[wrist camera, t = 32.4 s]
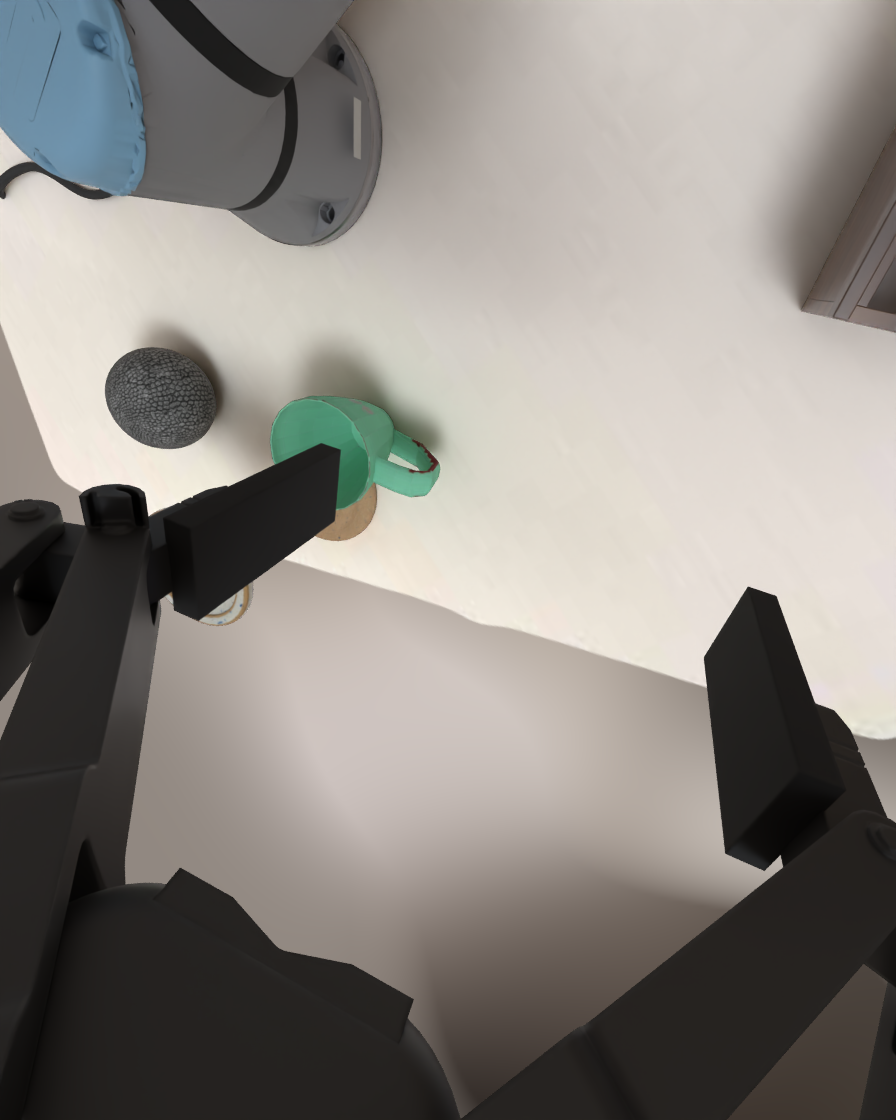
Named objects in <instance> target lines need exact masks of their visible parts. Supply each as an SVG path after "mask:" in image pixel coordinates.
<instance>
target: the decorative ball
mask: <svg viewBox="0 0 896 1120" xmlns="http://www.w3.org/2000/svg"><path fill="white" fill-rule="evenodd" d="M105 397H106V402H107V406H108V408H109V411H110V413H111V415H112V417H113V418H114V420H115V421H116V423H117V424H118V425H119V426H120V427H121V429H122V430H123V431H124V432H126V433H127V434H128V435H129V436H131V437H132V438H133V439H135V440H137V441H138V442H140V443H142V444H145V445H148V446H151V447H156V448H161V449H176V448H182V447H185V446H188V445H191V444H193V443H195V442H196V441H198V440H199V439H200V438H202V437H203V436H204V435H205V434H206V432H207V431H208V430H209V428H210V427H211V425H212V423H213V420H214V417H215V414H216V398H215V393H214V390H213V387H212V385H211V383H210V381H209V379H208V378H207V376H206V375H205V373H204V372H203V371H202V370H201V369H200V368H199V367H198V366H197V365H196V364H195V363H194V362H193V361H191V360H190V359H189V358H187V357H186V356H184V355H182V354H180V353H177V352H175V351H172V350H168V349H164V348H154V347H151V348H141V349H137V350H134V351H131V352H129V353H127V354H126V355H124V356H123V357H121V358H120V359H119V360H118V361H117V362H116V363H115V364H114V366H113V367H112V368H111V370H110V372H109V374H108V377H107V380H106V384H105Z"/></svg>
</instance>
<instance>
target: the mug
mask: <svg viewBox="0 0 896 1120" xmlns="http://www.w3.org/2000/svg"><path fill="white" fill-rule="evenodd" d="M320 443H323V444H326V445H329V446H332V447H335V448H338V449H341V456H340V468H339V479H338V491H337V503H336V510H343V509H346V508H348V507H350V506H351V505H353V504H355V503H356V502H358V501H359V500H361V499H362V498H363V496H364V495H365V494H366V492H367V491H368V490H369V488H370V487H371V486H372V484H373V482H374V483H376V484H379V485H381V486H383V487H385V488H387V489H390V490H392V491H394V492H397V493H400V494H403V495H406V496H409V497H418V496H425V495H427V494H428V492H429V491H430V490H431V488H432V487H433V485H434V484H435V482H436V481H437V479H438V477H439V473H440V465H439V462H438V461H437V459H436V458H435V457H434V456H433V455H432V454H431V453H430V452H429V451H428V449H427V448H426V447H425V446H424V445H423V444H422V443H420V442H418V441H416V440H414V439H412V438H410V437H408V436H406V435H405V434H403V433H401V432H399V431H397V430H395V428H394V425H393V422H392V420H391V418H390V417H389V415H388V414H387V413H386V412H385V411H384V410H383V409H381V408H379V407H377V406H375V405H372V404H370V403H368V402H365V401H361V400H357V399H351V398H343V397H334V396H309V397H306V398H302V399H298V400H295V401H292V402H290V403H289V404H288V405H286V406H285V407H284V408H283V409H281V410H280V411H279V413H278V415H277V417H276V419H275V420H274V422H273V424H272V430H271V436H270V446H271V453H272V459H273V461H274V464H278V463H280V462H282V461H284V460H286V459H288V458H290V457H292V456H294V455H297V454H299V453H301V452H303V451H305V450H307V449H309V448H311V447H313V446H316V445H318V444H320ZM390 452H391V453H393V454H395V455H397V456H398V457H400V458H402V459H404V460H406V461H407V462H409V463H411V464H413V465H414V466H416V467H418V469H419V470H420V471H415V470H412V469H409V468H405V467H402V466H399V465H397V464H395V463H392V462H390V461H388V457H389V455H390Z"/></svg>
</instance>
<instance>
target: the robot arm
mask: <svg viewBox="0 0 896 1120" xmlns="http://www.w3.org/2000/svg"><path fill="white" fill-rule="evenodd" d="M353 1H354V0H0V127H1V128H2V130H3V131H4V132H5V133H6V135H7V136H8V137H9V138H10V139H11V140H12V141H13V143H14V144H15V145H16V146H17V147H18V148H19V149H20V150H21V151H22V152H23V153H24V154H26V155H27V156H28V157H29V158H30V159H31V160H33V161H34V162H35V163H34V162H26V163H21V164H18V165H15V166H13V167H11V168H10V169H8V170H7V171H5V172H4V173H3V174H2V175H1V176H0V198H2V199H4V198H5V193H4V189H5V187H6V186H7V184H8V183H9V182H10V181H11V180H13V179H14V178H15V177H17V176H19V175H21V174H23V173H26V172H30V171H36V172H40V173H43V174H45V175H47V176H49V177H51V178H52V179H54V180H56V181H57V182H59V183H60V184H62V185H63V186H64V187H66V188H67V189H69V190H70V191H72V192H74V193H76V194H77V195H80V196H82V197H85V198H88V199H104V198H108V197H111V196H113V195H115V196H127V195H128V196H135V197H142V198H149V199H156V200H163V201H170V202H178V203H185V204H192V205H199V206H206V207H213V208H221V209H227V210H229V211H230V212H232V213H233V214H235V215H236V216H237V217H239V218H240V219H242V220H243V221H244V222H246V223H247V224H248V225H250V226H251V227H253V228H254V229H255V230H257V231H258V232H260V233H261V234H263V235H265V236H267V237H269V238H270V239H273V240H275V241H277V242H280V243H283V244H288V245H296V246H318V245H323V244H326V243H328V242H331V241H333V240H335V239H337V238H338V237H340V236H341V235H343V234H344V233H345V232H346V231H347V230H348V229H350V228H351V226H352V225H353V224H354V223H355V222H356V221H357V219H358V218H359V217H360V215H361V214H362V212H363V210H364V209H365V207H366V205H367V203H368V201H369V199H370V197H371V194H372V191H373V189H374V186H375V182H376V179H377V175H378V170H379V165H380V157H381V145H382V129H381V117H380V110H379V104H378V99H377V95H376V91H375V87H374V84H373V81H372V78H371V75H370V73H369V70H368V68H367V66H366V64H365V61H364V59H363V57H362V56H361V54H360V52H359V51H358V49H357V47H356V46H355V44H354V43H353V42H352V40H351V39H350V37H349V36H348V35H347V34H346V33H345V32H344V31H343V29H341V28H340V27H339V26H338V25H337V24H336V23H337V21H338V20H339V19H340V17H341V16H342V15H343V14H344V12H345V11H346V10H347V9H348V7H349V6H350V5H351V3H352V2H353ZM70 181H71V182H70ZM72 182H75V183H79V184H84V185H88V186H92V187H96V188H99V189H100V190H87V189H83V188H81V187H79V186H77V185H75V184H73V183H72ZM340 456H341V449H338V448H335V447H332V446H329V445H326V444H323V443H320V444H318V445H316V446H313V447H311V448H309V449H307V450H305V451H303V452H301V453H299V454H297V455H294V456H292V457H290V458H288V459H286V460H284V461H282V462H280V463H278V464H275V465H273V466H271V467H269V468H267V469H265V470H263V471H261V472H258V473H256V474H254V475H252V476H250V477H248V478H246V479H244V480H242V481H239V482H237V483H235V484H233V485H231V486H229V487H228V486H223V487H218V488H213V489H208V490H205V491H203V492H201V493H199V494H197V495H194V496H193V498H191V497H190V498H188V499H186V500H184V501H182V502H181V504H180V503H177V504H175V505H173V506H170V507H168V508H166V509H164V510H162V511H160V512H157V513H155V514H153V515H151V516H149V517H148V511H147V504H146V497H145V493H144V492H143V491H142V490H141V489H139V488H137V487H133V486H130V485H122V484H109V485H101V486H97V487H92V488H90V489H88V490H86V491H84V492H83V493H82V494H81V495H80V496H79V499H80V503H81V508H82V513H83V518H84V522H85V526H84V525H78V524H71V523H66V522H63V518H62V515H61V510H60V508H59V506H58V505H56V504H54V503H52V502H48V501H43V500H32V499H28V500H24V501H23V500H18V501H14V502H12V503H8V504H5V505H2V506H0V701H1V700H2V698H3V697H4V696H5V695H6V693H7V692H8V691H9V689H10V688H11V687H12V686H13V684H14V683H15V682H16V681H17V679H18V678H19V677H20V676H21V674H22V673H23V672H24V671H25V669H26V668H27V667H28V666H29V664H30V663H31V665H30V667H29V670H28V672H27V675H26V677H25V680H24V682H23V685H22V687H21V690H20V692H19V695H18V698H17V700H16V703H15V705H14V707H13V710H12V712H11V715H10V717H9V720H8V722H7V725H6V727H5V730H4V732H3V735H2V737H1V740H0V1120H727V1119H728V1118H729V1117H730V1115H731V1114H732V1113H733V1112H734V1111H735V1109H737V1107H738V1106H739V1105H740V1104H741V1103H742V1102H743V1101H744V1099H745V1098H746V1097H747V1096H748V1095H749V1094H750V1092H752V1090H753V1089H754V1088H755V1087H756V1086H757V1085H758V1083H759V1082H760V1081H761V1080H762V1079H763V1078H764V1077H765V1076H766V1074H767V1073H768V1072H769V1071H770V1070H771V1069H772V1068H773V1066H774V1065H775V1064H776V1063H777V1062H778V1061H779V1060H780V1058H781V1057H782V1056H783V1055H784V1054H785V1053H786V1052H787V1050H788V1049H789V1048H790V1047H791V1046H792V1045H793V1044H794V1042H795V1041H796V1040H797V1039H798V1038H799V1037H800V1035H801V1034H802V1033H803V1032H804V1031H805V1030H806V1029H807V1028H808V1027H809V1025H810V1024H811V1023H812V1022H813V1021H814V1020H815V1019H816V1017H817V1016H818V1015H819V1014H820V1013H821V1012H822V1011H823V1009H824V1008H825V1007H826V1006H827V1005H828V1004H829V1003H830V1001H831V1000H832V999H833V998H834V997H835V995H836V994H837V993H838V992H839V991H840V990H841V989H842V988H843V987H844V985H845V984H846V983H847V982H848V981H849V980H850V978H851V977H852V976H853V975H854V974H855V973H856V972H857V971H858V969H859V968H860V967H861V966H862V965H863V964H865V965H866V966H868V967H869V968H870V969H872V970H873V971H874V972H876V973H877V974H878V975H880V976H881V977H882V978H884V979H885V980H886V981H888V983H887V988H886V993H885V998H884V1002H883V1007H882V1012H881V1017H880V1022H879V1026H878V1031H877V1036H876V1041H875V1046H874V1050H873V1056H872V1060H871V1065H870V1070H869V1074H868V1079H867V1084H866V1089H865V1094H864V1098H863V1103H862V1108H861V1113H860V1118H859V1120H896V823H895V822H894V821H892V820H891V819H888V818H887V816H886V813H885V811H884V809H883V807H882V804H881V802H880V799H879V797H878V794H877V792H876V790H875V787H874V785H873V782H872V780H871V778H870V775H869V773H868V771H867V769H866V768H864V765H865V763H864V761H863V759H862V756H861V754H860V752H858V747H857V744H856V742H855V739H854V737H853V735H852V732H851V730H850V729H849V728H848V726H847V725H846V724H845V723H844V722H843V720H842V719H841V718H840V717H839V716H838V714H837V713H836V712H835V711H834V710H832V709H829V708H826V707H824V706H821V705H818V704H816V703H815V702H814V699H813V696H812V693H811V691H810V688H809V685H808V682H807V680H806V677H805V674H804V671H803V668H802V666H801V663H800V660H799V657H798V655H797V652H796V649H795V646H794V644H793V641H792V638H791V635H790V632H789V630H788V627H787V624H786V621H785V619H784V616H783V613H782V610H781V608H780V605H779V602H778V599H777V597H776V596H775V595H772V594H769V593H766V592H763V591H760V590H757V589H754V588H751V587H747V589H746V591H745V592H744V594H743V595H742V597H741V599H740V600H739V602H738V603H737V605H736V607H735V608H734V610H733V611H732V613H731V615H730V616H729V618H728V619H727V621H726V623H725V624H724V626H723V627H722V629H721V631H720V632H719V634H718V635H717V637H716V639H715V640H714V642H713V643H712V645H711V647H710V648H709V650H708V651H707V653H706V655H705V656H704V664H705V673H706V682H707V691H708V700H709V709H710V718H711V727H712V736H713V746H714V754H715V764H716V773H717V781H718V791H719V800H720V809H721V819H722V827H723V837H724V846H725V853H726V854H727V855H730V856H732V857H734V858H736V859H739V860H741V861H743V862H746V863H748V864H750V865H752V866H754V867H757V868H759V869H762V870H764V871H765V870H766V869H767V868H768V867H769V866H770V865H771V864H772V863H773V862H774V861H775V860H776V859H777V858H778V857H779V856H780V855H781V859H782V864H783V868H782V869H781V870H779V871H778V872H777V873H776V874H774V875H773V876H772V877H771V878H769V879H768V880H767V881H766V882H764V883H763V884H762V885H761V886H759V887H758V888H757V889H755V890H754V891H753V892H752V893H750V894H749V895H748V896H747V897H746V898H744V899H743V900H742V901H741V902H739V903H738V904H737V905H735V906H734V907H733V908H732V909H730V910H729V911H728V912H727V913H725V914H724V915H723V916H722V917H720V918H719V919H718V920H717V921H715V922H714V923H713V924H712V925H710V926H709V927H708V928H706V929H705V930H704V931H703V932H701V933H700V934H699V935H698V936H696V937H695V938H694V939H693V940H691V941H690V942H689V943H688V944H686V945H685V946H684V947H683V948H681V949H680V950H679V951H678V952H676V953H675V954H674V955H673V956H671V957H670V958H669V959H668V960H666V961H665V962H664V963H663V964H661V965H660V966H659V967H657V968H656V969H655V970H654V971H652V972H651V973H650V974H649V975H647V976H646V977H645V978H644V979H642V980H641V981H640V982H639V983H637V984H636V985H635V986H634V987H632V988H631V989H630V990H629V991H627V992H626V993H625V994H624V995H623V996H621V997H620V998H619V999H617V1000H616V1001H615V1002H614V1003H612V1004H611V1005H610V1006H609V1007H607V1008H606V1009H605V1010H604V1011H602V1012H601V1013H600V1014H599V1015H597V1016H596V1017H595V1018H593V1019H592V1020H591V1021H589V1022H588V1023H587V1024H586V1025H584V1026H581V1027H579V1028H577V1029H575V1030H574V1031H572V1032H571V1033H570V1034H568V1035H567V1036H566V1037H564V1038H563V1039H562V1040H560V1041H559V1042H558V1043H556V1044H555V1045H554V1046H553V1047H551V1048H550V1049H549V1050H548V1051H546V1052H545V1053H544V1054H543V1055H541V1056H540V1057H539V1058H538V1059H536V1060H535V1061H534V1062H532V1063H531V1064H530V1065H529V1066H527V1067H526V1068H525V1069H524V1070H523V1071H521V1072H520V1073H519V1074H517V1075H516V1076H515V1077H513V1078H512V1079H511V1080H510V1081H508V1082H507V1083H506V1084H505V1085H503V1086H502V1087H501V1088H500V1089H498V1090H497V1091H496V1092H494V1093H493V1094H492V1095H491V1096H489V1097H488V1098H487V1099H486V1100H484V1101H483V1102H482V1103H481V1104H479V1105H478V1106H477V1107H476V1108H474V1109H473V1110H472V1111H471V1112H469V1113H468V1114H467V1115H465V1116H464V1117H463V1118H462V1119H461V1118H460V1115H459V1112H458V1108H457V1105H456V1102H455V1098H454V1095H453V1092H452V1089H451V1087H450V1085H449V1082H448V1080H447V1077H446V1075H445V1073H444V1070H443V1068H442V1066H441V1064H440V1063H439V1061H438V1059H437V1057H436V1055H435V1053H434V1052H433V1050H432V1048H431V1047H430V1045H429V1044H428V1043H427V1041H426V1040H425V1038H424V1037H423V1036H422V1034H421V1033H420V1031H419V1030H418V1029H417V1028H416V1027H415V1026H414V1025H413V1024H412V1023H411V1022H410V1021H409V1019H408V1015H409V1012H410V1009H411V1006H412V1003H413V1000H414V999H412V998H411V997H408V996H407V995H405V994H403V993H401V992H400V991H398V990H396V989H395V988H392V987H391V986H389V985H387V984H386V983H384V982H382V981H380V980H378V979H377V978H375V977H373V976H371V975H370V974H368V973H366V972H364V971H363V970H361V969H359V968H357V967H355V966H354V965H352V964H347V963H342V962H337V961H332V960H327V959H322V958H317V957H312V956H307V955H301V954H297V953H291V952H287V951H283V950H281V949H279V948H278V947H277V946H276V945H275V944H274V943H273V942H272V941H271V940H270V939H269V938H268V937H267V935H266V934H265V933H264V932H263V931H262V930H261V929H260V928H259V927H258V925H257V924H256V923H255V922H254V921H253V920H252V918H251V917H250V916H249V915H248V914H247V913H246V912H245V911H244V909H243V908H242V907H241V906H240V905H239V904H238V903H237V901H236V900H235V899H234V898H233V897H231V896H230V895H228V894H226V893H224V892H223V891H221V890H219V889H217V888H215V887H214V886H212V885H210V884H208V883H206V882H205V881H203V880H201V879H199V878H198V877H196V876H194V875H192V874H190V873H189V872H187V871H185V870H183V869H182V868H179V870H178V871H177V872H176V873H175V875H174V876H173V877H172V878H171V879H170V880H169V882H168V883H167V884H162V883H137V884H126V885H125V854H126V846H127V839H128V832H129V825H130V819H131V812H132V805H133V798H134V792H135V785H136V777H137V771H138V765H139V758H140V751H141V744H142V738H143V731H144V724H145V717H146V710H147V704H148V697H149V690H150V683H151V676H152V669H153V663H154V656H155V650H156V642H157V635H158V628H159V622H160V615H161V605H160V599H162V598H163V597H165V596H166V595H168V594H170V593H171V592H172V597H173V605H174V611H177V612H179V613H181V614H183V615H186V616H188V617H190V618H192V619H195V620H197V621H199V620H201V619H202V618H203V617H205V616H206V615H207V614H209V613H210V612H212V611H213V610H214V609H216V608H217V607H218V606H220V605H221V604H222V603H224V602H225V601H227V600H228V599H229V598H231V597H232V596H233V595H235V594H236V593H237V592H239V591H240V590H242V589H243V588H244V587H246V586H247V585H248V584H250V583H251V582H253V581H254V580H255V579H257V578H258V577H259V576H261V575H262V574H263V573H265V572H266V571H268V570H269V569H270V568H271V567H273V566H274V565H276V564H277V563H278V562H280V561H281V560H283V559H284V558H285V557H287V556H288V555H289V554H291V553H292V552H294V551H295V550H296V549H298V548H299V547H300V546H302V545H303V544H304V543H306V542H307V541H309V540H310V539H311V538H313V537H314V536H315V535H317V534H318V533H319V532H321V531H322V530H324V529H325V528H326V527H328V526H329V525H330V524H332V523H333V522H334V521H335V515H336V503H337V491H338V479H339V468H340Z"/></svg>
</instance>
